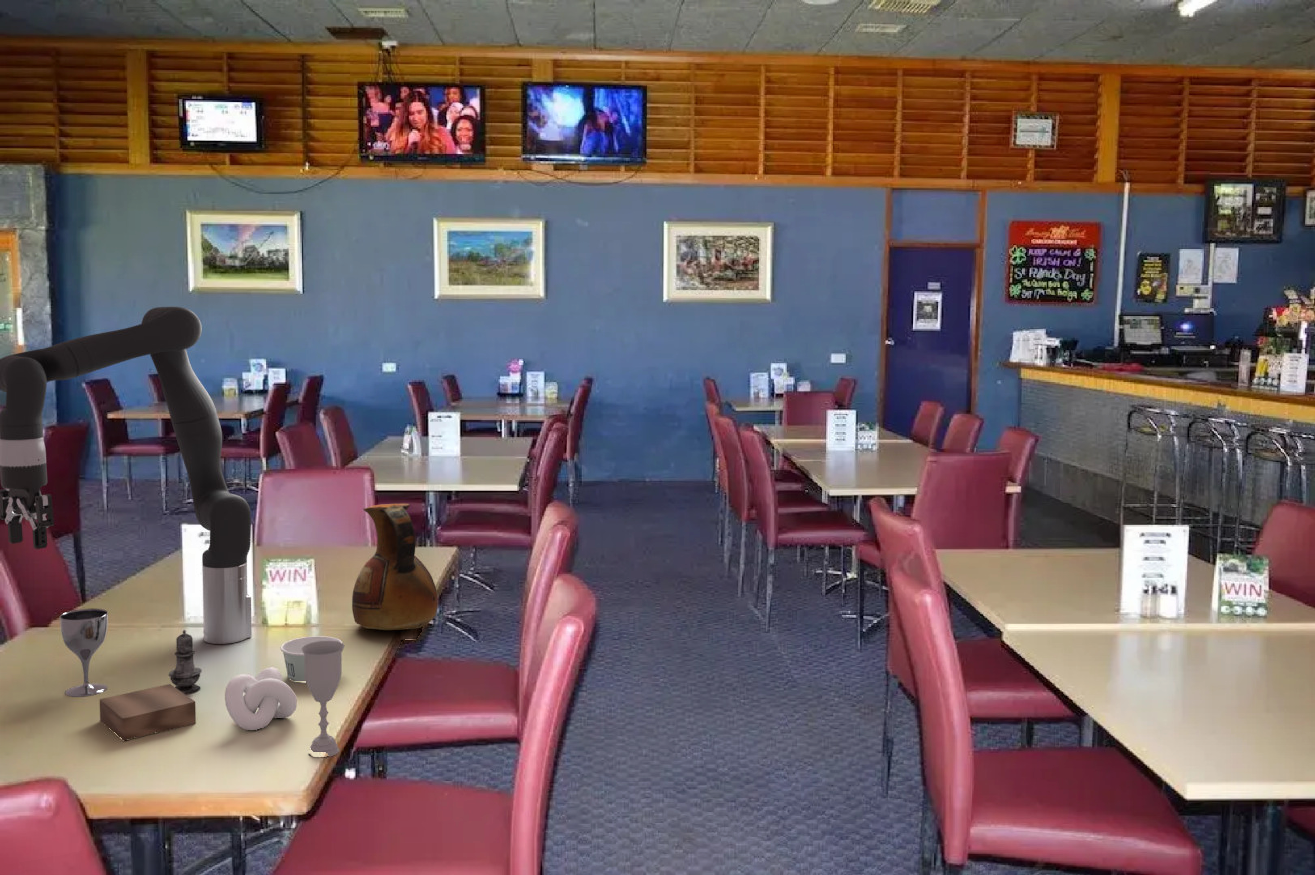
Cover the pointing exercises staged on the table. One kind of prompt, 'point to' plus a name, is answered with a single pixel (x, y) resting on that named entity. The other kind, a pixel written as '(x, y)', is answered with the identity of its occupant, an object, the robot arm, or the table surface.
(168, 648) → the table surface
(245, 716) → the white knot sculpture
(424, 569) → the ceramic pitcher
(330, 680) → the chalice
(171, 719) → the walnut base
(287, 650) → the food container
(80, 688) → the silver goblet
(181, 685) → the salt shaker
